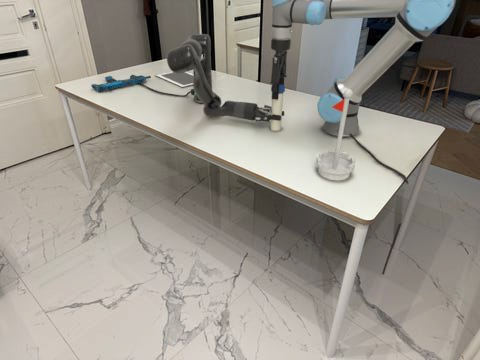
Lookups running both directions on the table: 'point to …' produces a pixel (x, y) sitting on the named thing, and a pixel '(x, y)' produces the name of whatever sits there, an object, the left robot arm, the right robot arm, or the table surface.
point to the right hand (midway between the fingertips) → (277, 95)
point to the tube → (277, 112)
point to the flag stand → (337, 149)
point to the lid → (280, 88)
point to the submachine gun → (119, 82)
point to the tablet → (178, 78)
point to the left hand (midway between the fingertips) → (282, 115)
